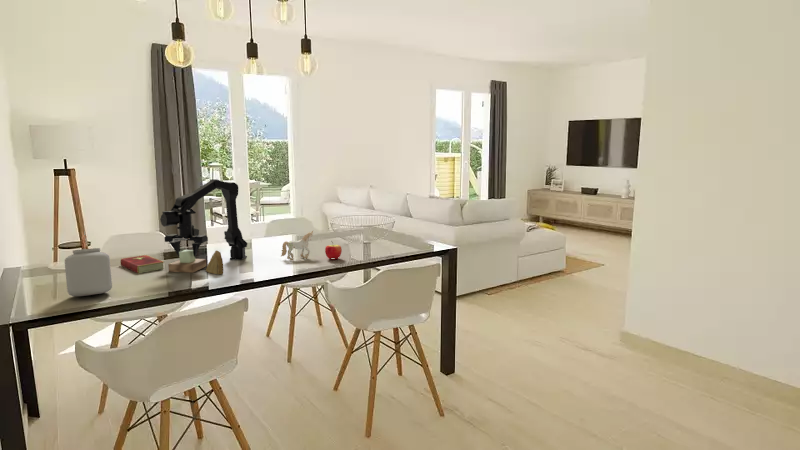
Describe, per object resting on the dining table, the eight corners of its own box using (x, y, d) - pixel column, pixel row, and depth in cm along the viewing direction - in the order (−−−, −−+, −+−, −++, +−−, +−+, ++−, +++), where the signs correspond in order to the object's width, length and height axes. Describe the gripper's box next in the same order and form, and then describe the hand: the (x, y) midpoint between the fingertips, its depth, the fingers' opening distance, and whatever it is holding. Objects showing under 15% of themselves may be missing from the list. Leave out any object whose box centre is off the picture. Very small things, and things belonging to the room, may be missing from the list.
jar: (68, 291, 197) (62, 230, 193) (111, 286, 205) (106, 227, 201) (67, 304, 181) (60, 237, 177) (113, 298, 189) (108, 234, 185)
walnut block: (206, 267, 240) (205, 259, 239) (193, 273, 228) (192, 265, 227) (183, 266, 241) (182, 258, 240) (168, 272, 229) (168, 264, 229)
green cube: (195, 260, 236) (194, 250, 235) (189, 262, 231) (189, 252, 230) (185, 260, 237) (184, 249, 236) (179, 262, 232) (179, 252, 231)
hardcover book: (138, 274, 225) (137, 265, 225) (120, 266, 239) (120, 258, 238) (164, 269, 234) (164, 261, 233) (146, 262, 248) (146, 254, 247)
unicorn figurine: (320, 257, 261) (319, 232, 259) (286, 262, 249) (285, 236, 246) (313, 254, 266) (313, 230, 264) (280, 259, 254) (279, 234, 252)
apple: (322, 260, 254) (322, 241, 252) (330, 256, 262) (330, 238, 260) (336, 261, 251) (336, 242, 249) (344, 258, 259) (344, 239, 257)
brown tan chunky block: (229, 269, 224) (229, 261, 233) (216, 256, 221) (217, 248, 230) (210, 284, 224) (211, 275, 233) (196, 271, 220) (198, 263, 229)
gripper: (212, 221, 238) (214, 253, 240) (176, 220, 240) (178, 252, 242) (200, 225, 227) (202, 258, 229) (162, 224, 229) (165, 257, 232)
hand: (187, 256), depth 233 cm, fingers open, 8 cm apart
